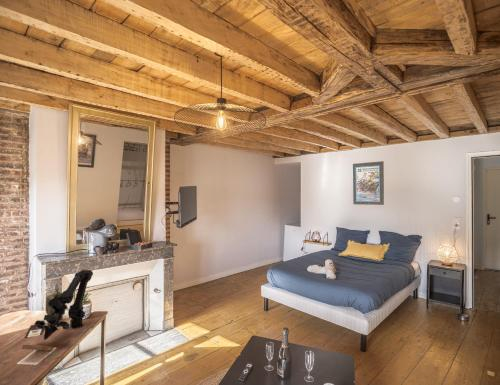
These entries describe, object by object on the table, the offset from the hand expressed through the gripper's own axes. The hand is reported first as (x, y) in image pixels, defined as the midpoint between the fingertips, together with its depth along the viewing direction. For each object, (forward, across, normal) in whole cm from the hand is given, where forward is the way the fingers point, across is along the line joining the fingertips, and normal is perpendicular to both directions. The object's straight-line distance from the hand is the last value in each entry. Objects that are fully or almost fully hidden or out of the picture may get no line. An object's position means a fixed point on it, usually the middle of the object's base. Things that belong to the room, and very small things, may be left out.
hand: (44, 339), depth 169 cm
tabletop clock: (-24, -21, +34) cm, 47 cm away
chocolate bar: (-11, -22, +22) cm, 33 cm away
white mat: (+8, 0, +1) cm, 9 cm away
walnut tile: (+3, 0, +5) cm, 6 cm away
